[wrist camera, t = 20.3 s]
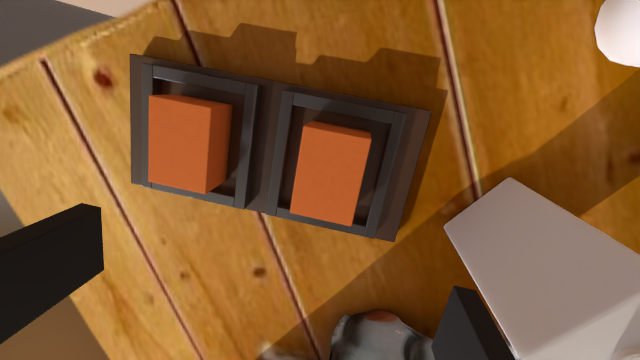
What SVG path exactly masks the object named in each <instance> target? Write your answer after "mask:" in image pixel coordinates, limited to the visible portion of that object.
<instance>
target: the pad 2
mask: <svg viewBox="0 0 640 360" xmlns="http://www.w3.org/2000/svg"><path fill="white" fill-rule="evenodd" d="M371 141H372V140H371V134H370V132H369V131H364V130H359V129H354V128H349V127H344V126H339V125H334V124H329V123H324V122H319V121H314V120H312V121H311V122H309V123H308V124H306V125H304V127H303V133H302V139H301V145H300V151H299V158H298V164H297V170H296V176H295V182H294V189H293V195H292V201H291V207H290V213H293V214H297V215H302V216H306V217H311V218H315V219H320V220H324V221H329V222H333V223H338V224H342V225H347V226H352V222H353V218H354V214H355V209H356V205H357V201H358V197H359V192H360V188H361V184H362V179H363V175H364V171H365V166H366V162H367V158H368V154H369V149H370V145H371Z"/></svg>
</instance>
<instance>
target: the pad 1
mask: <svg viewBox="0 0 640 360" xmlns="http://www.w3.org/2000/svg"><path fill="white" fill-rule="evenodd" d="M232 108H233V105H231V104H226V103H221V102H216V101H211V100H206V99H201V98H196V97H191V96H186V95H181V94H168V95H149V164H148V181H149V182H153V183H157V184H162V185H166V186H171V187H175V188H180V189H184V190H189V191H193V192H198V193H202V194H207V193H208V192H210V191H211V190H212V189H214V188H215V187H217V186H218V185H220V184H221V183H223V182H224V181H226V176H227V164H228V153H229V142H230V130H231V119H232Z"/></svg>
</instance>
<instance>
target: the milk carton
mask: <svg viewBox="0 0 640 360" xmlns="http://www.w3.org/2000/svg"><path fill="white" fill-rule="evenodd" d="M444 229H445V231H446V233H447V235H448V236H449V238H450V240H451V242H452V243H453V245H454V247H455V249H456V250H457V252H458V254H459V255H460V257H461V259H462V261H463V262H464V264H465V266H466V268H467V269H468V271H469V273H470V274H471V276H472V278H473V280H474V281H475V283H476V285H477V287H478V288H479V290H480V292H481V294H482V295H483V297H484V299H485V300H486V302H487V304H488V306H489V307H490V309H491V311H492V313H493V314H494V316H495V318H496V320H497V321H498V323H499V325H500V326H501V328H502V330H503V332H504V333H505V335H506V337H507V339H508V340H509V342H510V344H511V345H512V347H513V349H514V351H515V352H516V354H517V356H518V358H519V359H520V360H640V255H639V254H638V253H636V252H634V251H633V250H631V249H629V248H628V247H626V246H624V245H623V244H621V243H619V242H618V241H616V240H614V239H613V238H611V237H609V236H608V235H606V234H604V233H603V232H601V231H599V230H598V229H596V228H594V227H593V226H591V225H589V224H588V223H586V222H584V221H583V220H581V219H579V218H578V217H576V216H574V215H573V214H571V213H569V212H568V211H566V210H564V209H563V208H561V207H560V206H558V205H556V204H555V203H553V202H551V201H550V200H548V199H546V198H545V197H543V196H541V195H540V194H538V193H536V192H535V191H533V190H531V189H530V188H528V187H526V186H525V185H523V184H521V183H520V182H518V181H516V180H515V179H513V178H511V177H508V178H507V179H505V180H504V181H502V182H501V183H500V184H498V185H497V186H496V187H494V188H493V189H492V190H490V191H489V192H488V193H486V194H485V195H484V196H482V197H481V198H480V199H478V200H477V201H476V202H474V203H473V204H472V205H470V206H469V207H468V208H466V209H465V210H464V211H462V212H461V213H460V214H458V215H457V216H455V217H454V218H453V219H451V220H450V221H449V222H448V223H446V224H445V225H444Z"/></svg>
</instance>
